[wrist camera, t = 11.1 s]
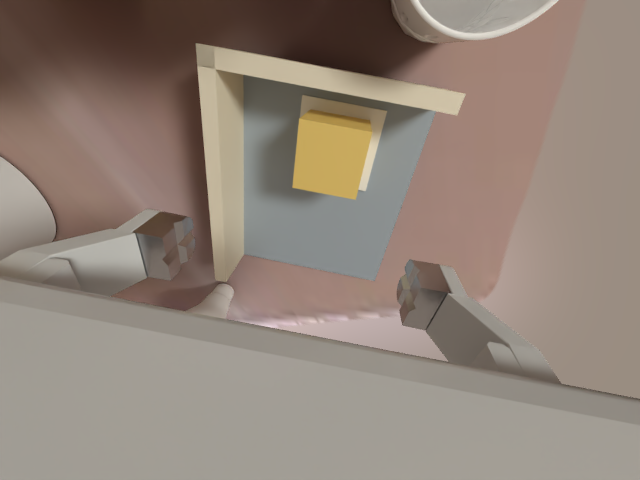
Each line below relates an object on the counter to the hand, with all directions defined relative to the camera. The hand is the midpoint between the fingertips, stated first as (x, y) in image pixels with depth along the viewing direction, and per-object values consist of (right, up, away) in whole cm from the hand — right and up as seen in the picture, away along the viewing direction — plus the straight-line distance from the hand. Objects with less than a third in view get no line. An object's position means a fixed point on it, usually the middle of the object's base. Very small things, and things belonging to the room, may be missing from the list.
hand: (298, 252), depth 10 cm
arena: (+1, +6, +17) cm, 18 cm away
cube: (+2, +9, +13) cm, 16 cm away
